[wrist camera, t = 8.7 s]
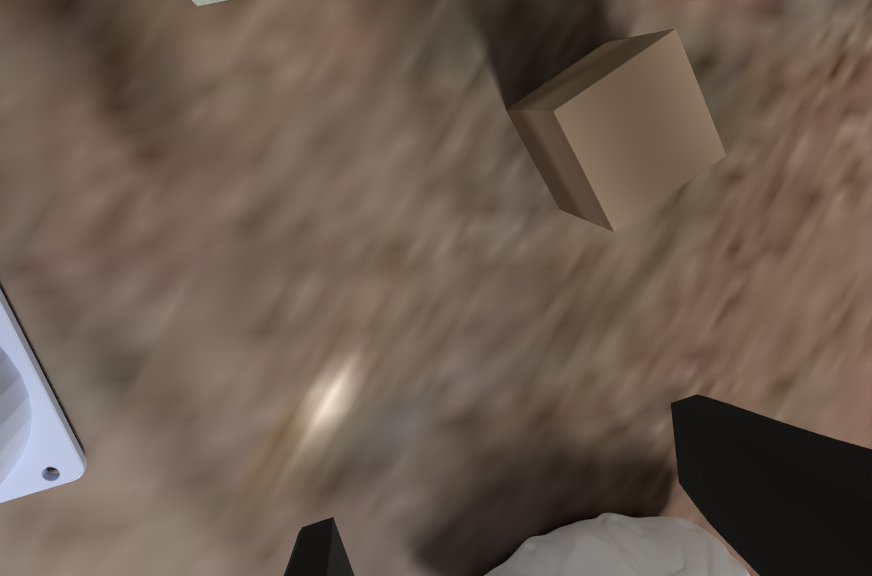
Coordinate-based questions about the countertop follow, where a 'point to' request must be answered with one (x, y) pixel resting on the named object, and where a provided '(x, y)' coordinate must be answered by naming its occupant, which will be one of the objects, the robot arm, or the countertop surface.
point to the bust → (623, 550)
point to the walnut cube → (619, 129)
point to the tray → (205, 2)
